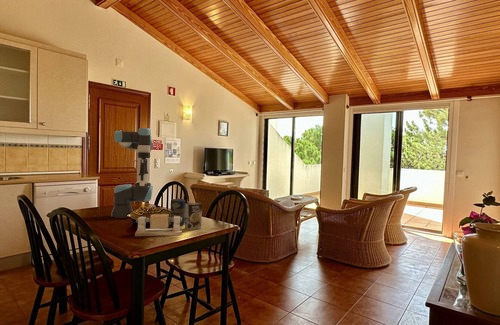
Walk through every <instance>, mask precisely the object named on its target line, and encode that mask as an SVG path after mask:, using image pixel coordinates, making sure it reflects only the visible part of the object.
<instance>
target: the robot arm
mask: <svg viewBox="0 0 500 325" xmlns="http://www.w3.org/2000/svg"><path fill="white" fill-rule="evenodd" d="M151 131H152V130H151V128H148V127H139V128H138V131H130V130H129V131H127V130H115V131H114V132H113V133H114V135H113V137H114V138H113V140H114V142H115V143H118V144H119V145H120V146H121V147H122V148H126V149H129V150H134V151H135V153H136V155H137V161H136V163H137V164H136V165H137V166H136V182H134V185H132V183H125V184H119V185H116V186H115V187H114V189H113V190H114V192H113V193H114V194H113V197H114V198H113V208H112V211H111V213H110V218H112V217H114V218H113V219H128V218H127V215H128V214H130V213H131V212H133V213H134V210H133V208H132V207H133V206H132V203H134V202H136V203H137V202H141V203H142V202H150V201H151V200H152V196H153V190H154V187H153V185H152V184H151V182H150V177H149V176H150V174H149V173H150V158H151V152H152V150H153V149H154V147H153V143H154V142H153V138H152V135H151V134H152V132H151Z"/></svg>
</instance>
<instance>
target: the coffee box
mask: <svg viewBox="0 0 500 325" xmlns="http://www.w3.org/2000/svg"><path fill="white" fill-rule="evenodd" d="M202 215H203V204H202V202H201V203H200V202H188V203H186V202H185V223H184V229H186V230H187V231H192V230H193V231H194V230H201V229H202V223H203V222H202V217H203V216H202Z"/></svg>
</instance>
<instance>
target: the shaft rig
mask: <svg viewBox="0 0 500 325" xmlns="http://www.w3.org/2000/svg"><path fill="white" fill-rule="evenodd" d="M181 221H182V217H180V216H174V218H170V217H169V218H168V222H169V223H170V222H174V225H173V227H171V228H169V227H168V228H154V229H150V228H146V226H147V225H146V223H150V217H146V216H139V217H136V220H135V222H136V223H137V230H136V231H135V232H134V237H153V236H155V237H156V236H157V237H158V236H181V235H183V234H182V233H183V228H182V227H181V225H180V222H181Z"/></svg>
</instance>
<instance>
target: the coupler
mask: <svg viewBox="0 0 500 325" xmlns="http://www.w3.org/2000/svg"><path fill="white" fill-rule="evenodd" d="M149 218H150V222H149V224H150V225H149V229H164V228H169V226H170V225H169V224H170V222H168V218H170V214H169V213H157V214H156V213H154V214H151V215H150V217H149Z"/></svg>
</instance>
